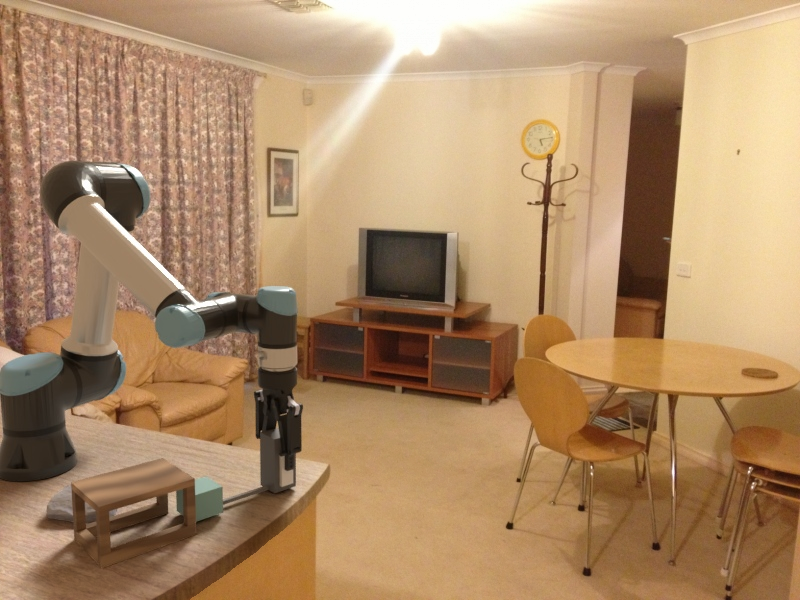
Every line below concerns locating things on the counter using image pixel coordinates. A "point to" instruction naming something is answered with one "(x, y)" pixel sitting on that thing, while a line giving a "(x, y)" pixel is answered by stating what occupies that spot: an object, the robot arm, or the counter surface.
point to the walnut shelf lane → (125, 491)
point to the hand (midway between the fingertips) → (278, 479)
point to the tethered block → (212, 493)
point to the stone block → (69, 507)
